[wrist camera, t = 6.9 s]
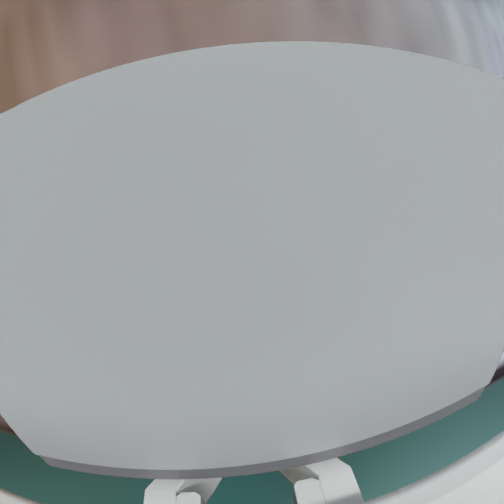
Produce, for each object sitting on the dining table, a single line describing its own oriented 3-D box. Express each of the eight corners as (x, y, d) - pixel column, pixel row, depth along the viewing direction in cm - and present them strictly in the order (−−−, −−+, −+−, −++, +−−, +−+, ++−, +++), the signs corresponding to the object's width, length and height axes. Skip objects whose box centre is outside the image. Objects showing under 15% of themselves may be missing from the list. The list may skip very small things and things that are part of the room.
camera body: (105, 332, 12) (47, 467, 5) (55, 150, 9) (-96, 182, 2) (411, 284, 12) (513, 379, 6) (412, 106, 10) (563, 105, 3)
